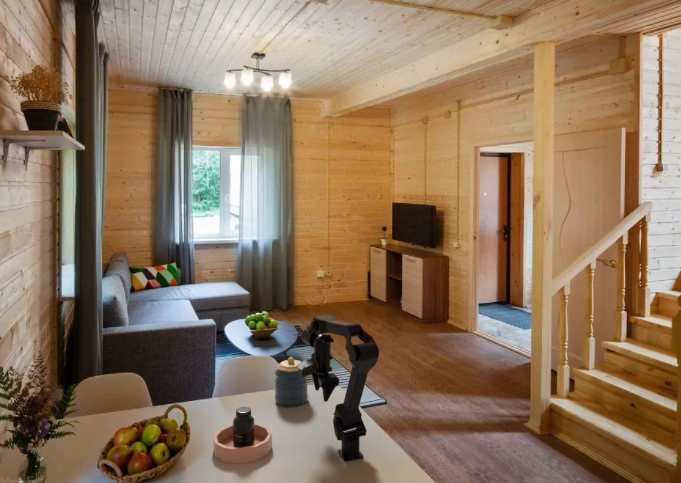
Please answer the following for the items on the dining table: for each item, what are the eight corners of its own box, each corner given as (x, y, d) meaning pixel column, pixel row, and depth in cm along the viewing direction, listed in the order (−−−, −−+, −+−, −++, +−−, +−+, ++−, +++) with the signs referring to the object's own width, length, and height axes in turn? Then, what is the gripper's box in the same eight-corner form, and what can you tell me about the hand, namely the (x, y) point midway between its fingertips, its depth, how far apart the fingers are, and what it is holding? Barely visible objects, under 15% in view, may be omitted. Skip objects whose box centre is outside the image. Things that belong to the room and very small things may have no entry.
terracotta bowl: (276, 456, 167) (276, 443, 167) (218, 467, 161) (218, 453, 160) (264, 432, 184) (264, 419, 183) (211, 440, 178) (210, 427, 177)
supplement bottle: (232, 451, 169) (231, 414, 167) (233, 441, 175) (232, 405, 174) (254, 449, 170) (254, 413, 168) (254, 439, 176) (254, 404, 175)
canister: (270, 397, 214) (270, 354, 212) (301, 392, 220) (300, 350, 218) (281, 409, 202) (280, 364, 201) (312, 404, 208) (312, 360, 206)
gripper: (292, 345, 186) (291, 387, 189) (307, 364, 169) (306, 411, 172) (322, 342, 190) (321, 383, 193) (340, 361, 173) (339, 406, 175)
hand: (321, 395), depth 183 cm, fingers open, 9 cm apart
